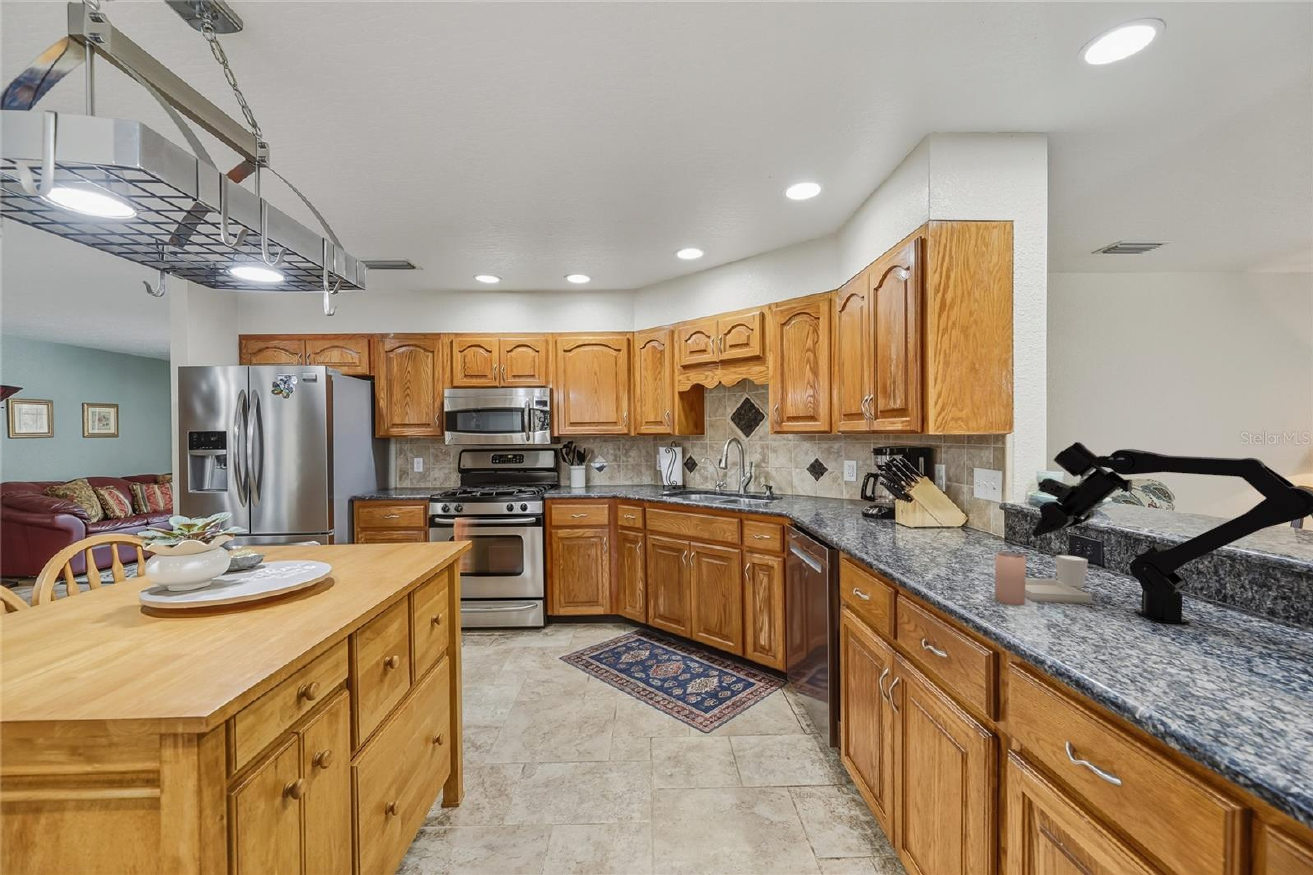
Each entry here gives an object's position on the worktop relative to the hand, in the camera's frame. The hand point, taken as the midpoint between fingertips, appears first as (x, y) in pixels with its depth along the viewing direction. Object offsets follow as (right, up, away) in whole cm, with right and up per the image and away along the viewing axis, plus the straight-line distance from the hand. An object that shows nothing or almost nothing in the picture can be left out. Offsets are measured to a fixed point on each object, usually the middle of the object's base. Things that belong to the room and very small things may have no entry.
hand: (1040, 533), depth 134 cm
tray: (0, -15, -2) cm, 15 cm away
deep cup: (-13, -15, -8) cm, 21 cm away
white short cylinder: (+14, -15, +8) cm, 22 cm away
